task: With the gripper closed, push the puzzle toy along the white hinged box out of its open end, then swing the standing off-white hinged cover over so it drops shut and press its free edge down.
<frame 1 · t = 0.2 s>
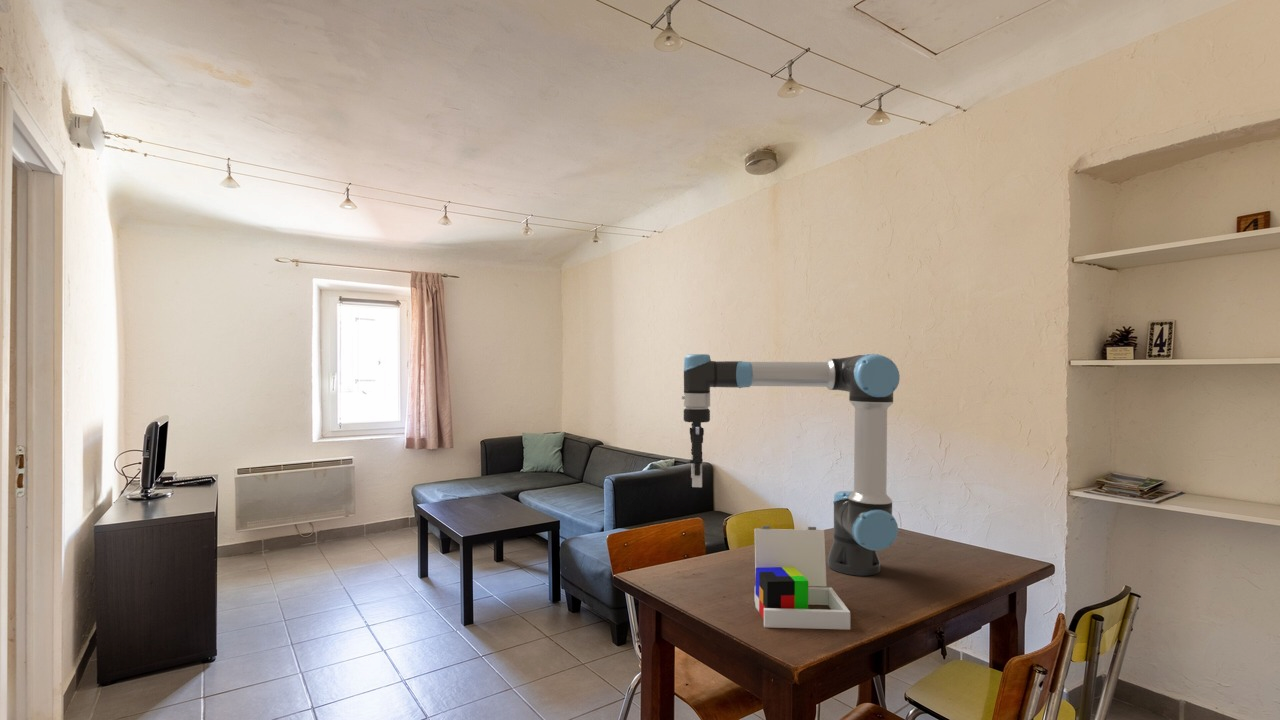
hand: (696, 482, 170), 28 cm above the table, fingers open, 13 cm apart
cover: (789, 555, 155), point 12 cm above the table, hinge at 100.0°
white hinged box: (797, 614, 146), on the table
puzzle toy: (780, 615, 147), resting in white hinged box
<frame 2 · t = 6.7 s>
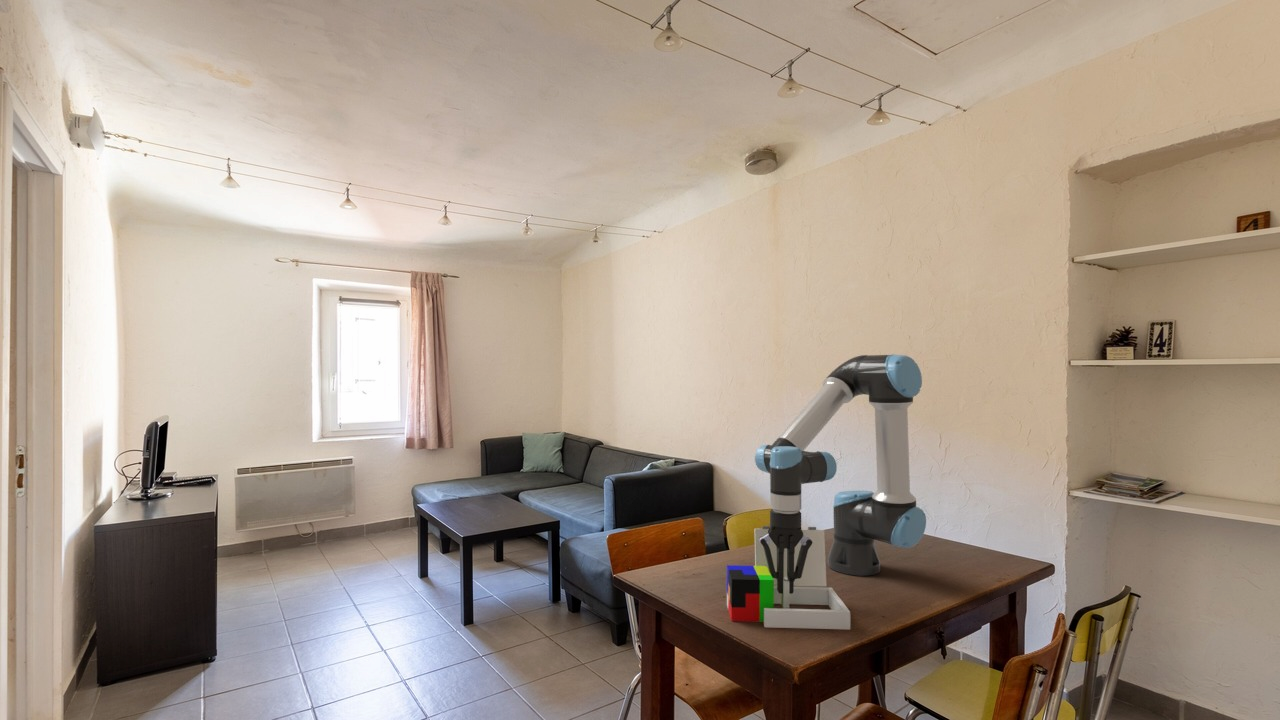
hand: (785, 606, 146), 2 cm above the table, fingers closed
puzzle toy: (749, 613, 147), on the table, touching hand
everything else where it was.
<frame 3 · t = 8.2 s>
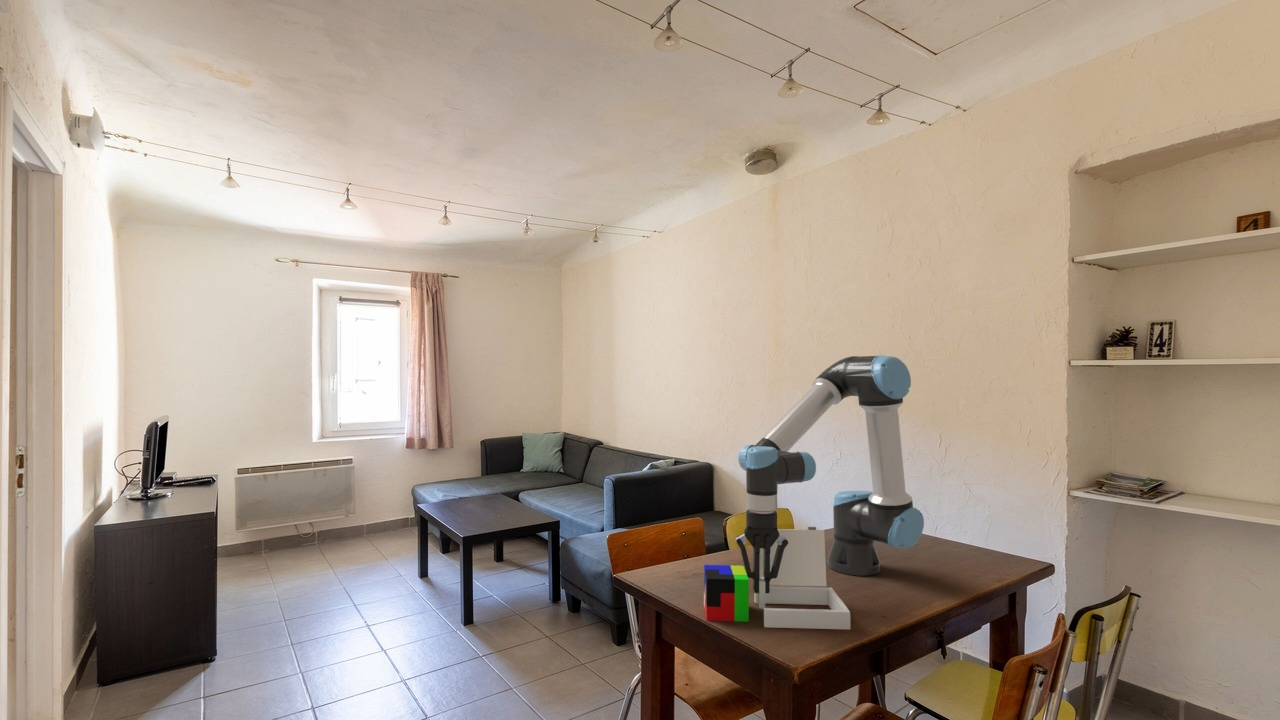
hand: (761, 605, 147), 2 cm above the table, fingers closed
puzzle toy: (725, 613, 147), on the table, touching hand
everything else where it was.
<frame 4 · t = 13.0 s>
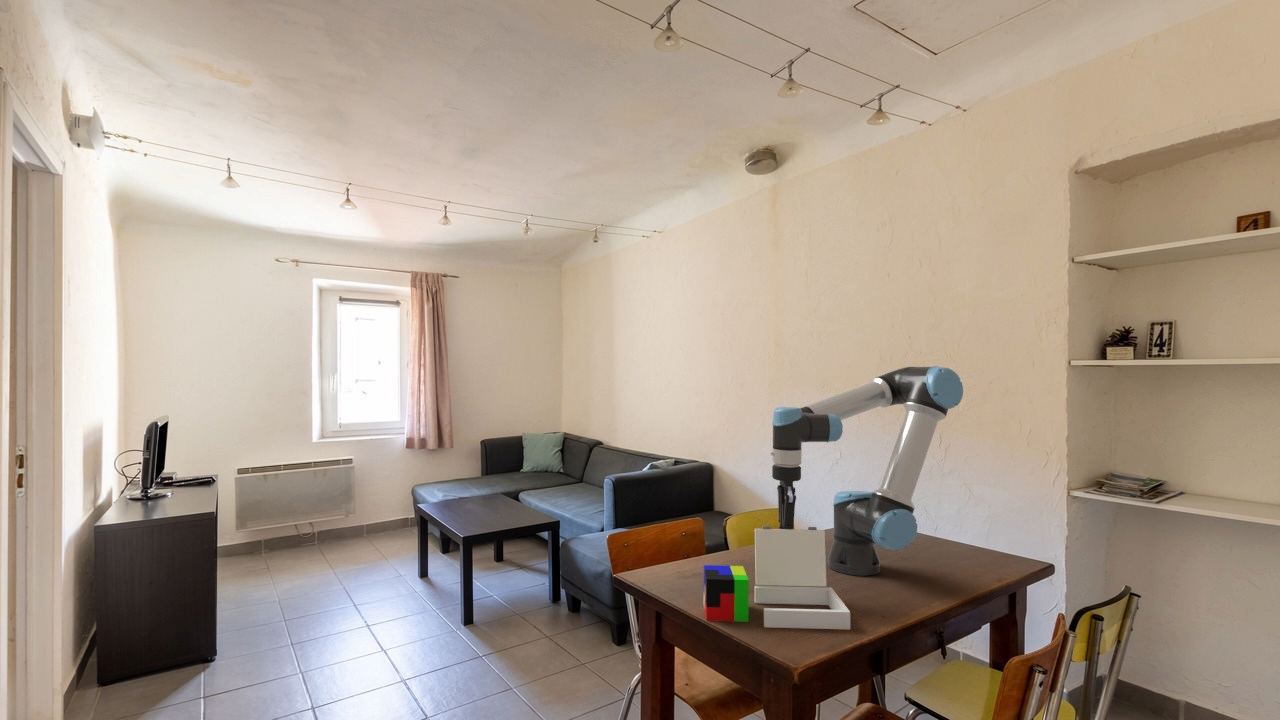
hand: (785, 552, 160), 11 cm above the table, fingers closed
cover: (790, 555, 155), point 12 cm above the table, hinge at 98.4°, touching gripper
puzzle toy: (725, 613, 147), on the table
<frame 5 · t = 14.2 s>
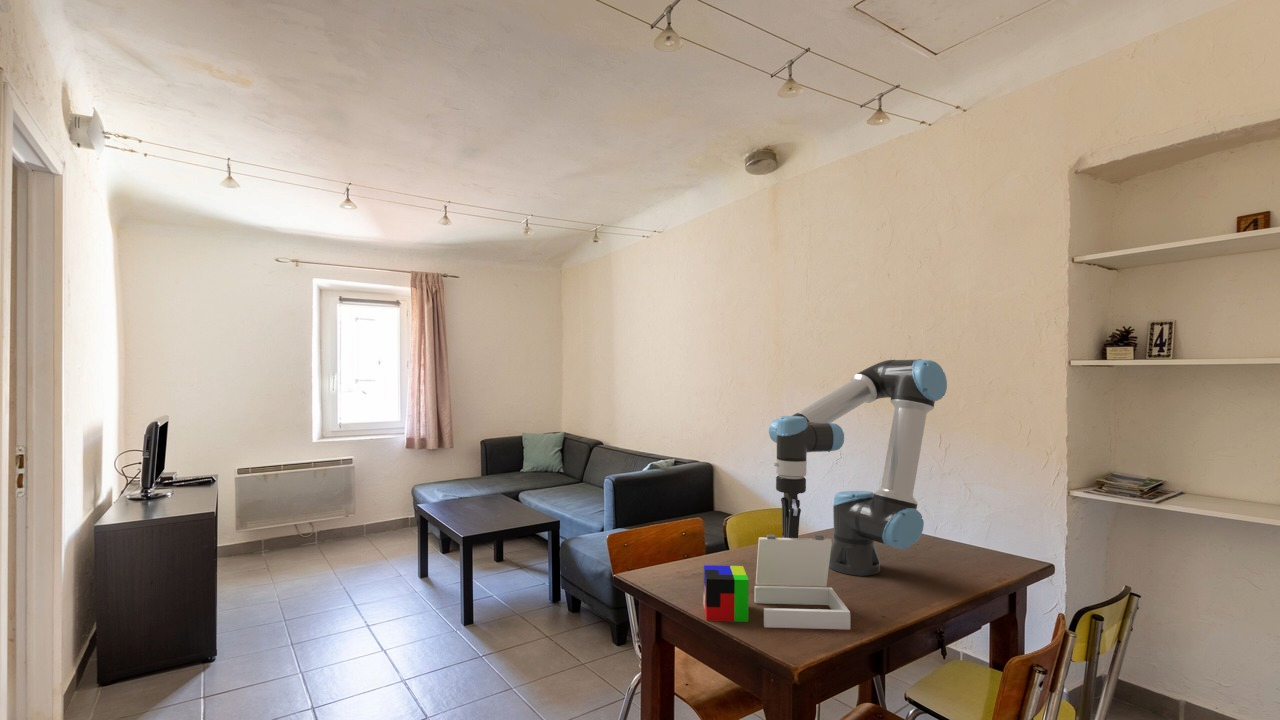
hand: (789, 567, 154), 9 cm above the table, fingers closed
cover: (793, 560, 152), point 12 cm above the table, hinge at 69.9°, touching gripper, hand
everything else where it was.
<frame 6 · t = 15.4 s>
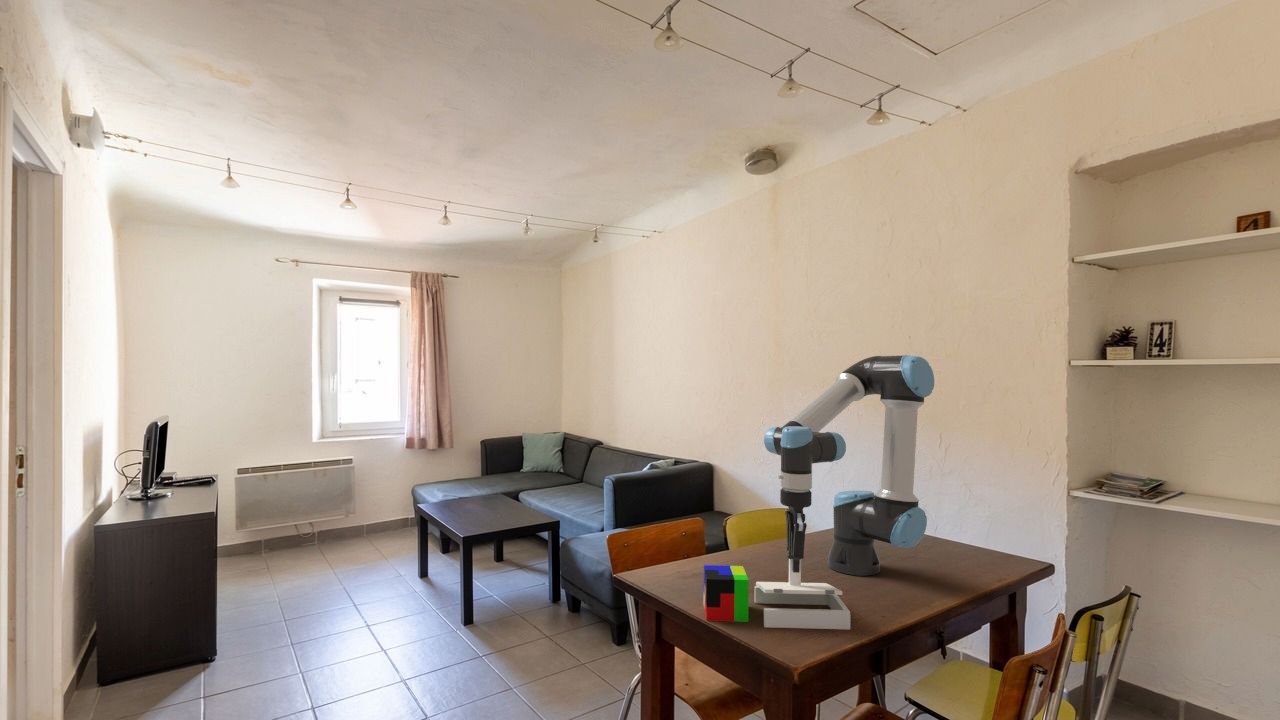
hand: (794, 583, 148), 7 cm above the table, fingers closed
cover: (797, 587, 147), point 7 cm above the table, hinge at 12.6°, touching gripper
everything else where it was.
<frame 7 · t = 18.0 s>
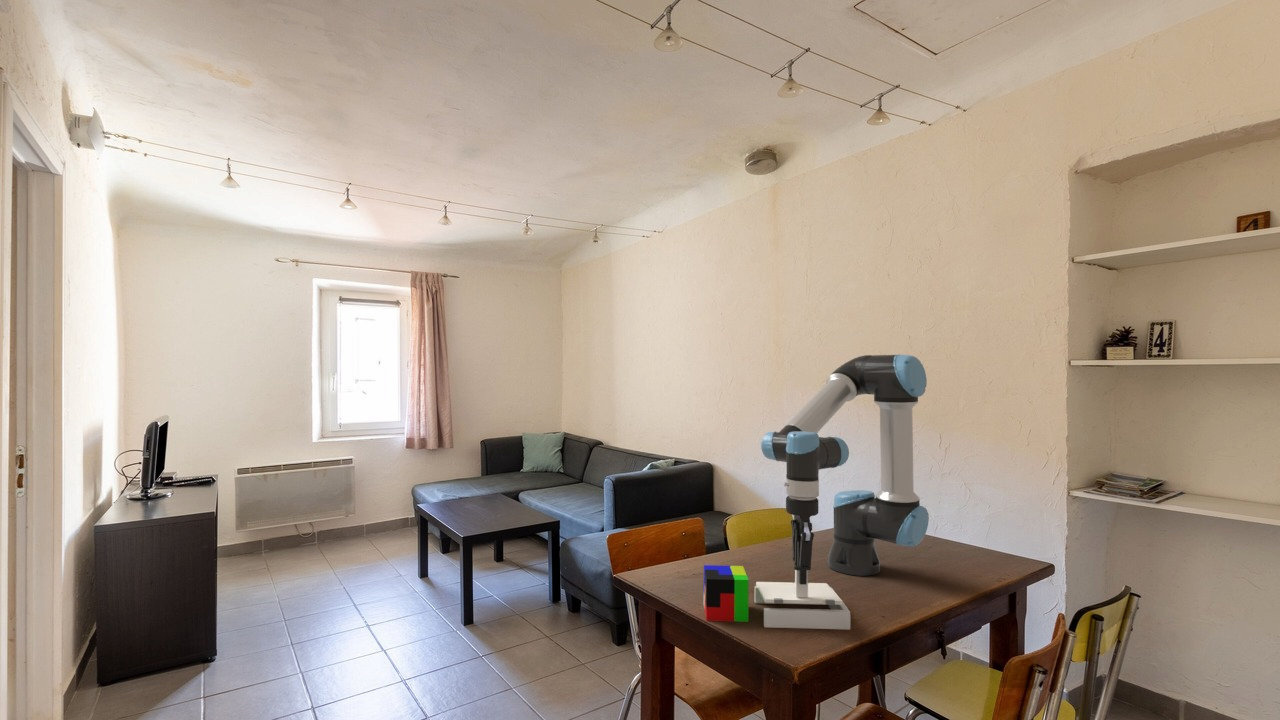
hand: (801, 596, 142), 6 cm above the table, fingers closed
cover: (797, 592, 146), point 5 cm above the table, hinge at 3.6°, touching gripper
everything else where it was.
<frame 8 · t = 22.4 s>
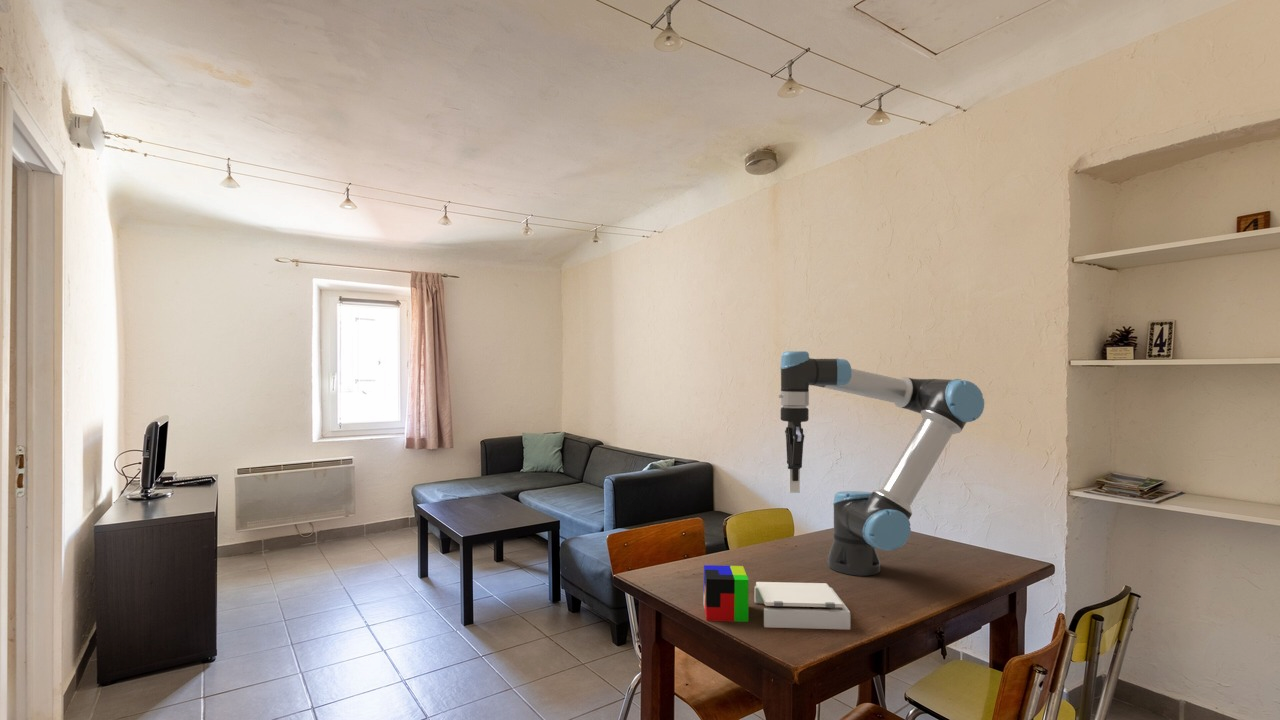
hand: (794, 492, 165), 26 cm above the table, fingers closed
cover: (797, 594, 146), point 5 cm above the table, hinge at 1.0°
everything else where it was.
at the end: cover at +1° (first picture: +100°); puzzle toy inside the target area (2.4 cm from its centre), on the table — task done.
